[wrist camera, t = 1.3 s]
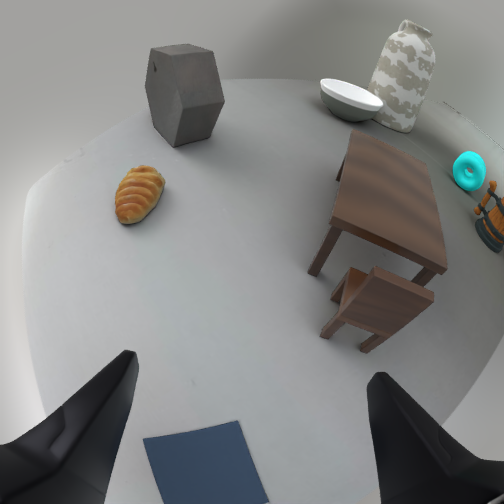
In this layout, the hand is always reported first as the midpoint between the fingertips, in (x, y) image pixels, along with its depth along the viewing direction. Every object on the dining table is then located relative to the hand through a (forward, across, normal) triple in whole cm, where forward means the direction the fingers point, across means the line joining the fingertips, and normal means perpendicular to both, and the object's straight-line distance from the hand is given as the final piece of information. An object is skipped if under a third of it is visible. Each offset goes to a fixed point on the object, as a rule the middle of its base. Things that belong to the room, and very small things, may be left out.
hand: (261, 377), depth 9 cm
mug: (+38, -55, +2) cm, 67 cm away
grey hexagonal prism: (+50, +15, -4) cm, 53 cm away
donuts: (+56, -59, -6) cm, 82 cm away
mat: (+1, +2, +18) cm, 18 cm away
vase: (+84, -42, -18) cm, 96 cm away
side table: (+31, -18, +5) cm, 36 cm away
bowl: (+74, -25, -14) cm, 80 cm away
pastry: (+31, +16, +5) cm, 35 cm away
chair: (+17, -13, +11) cm, 24 cm away
